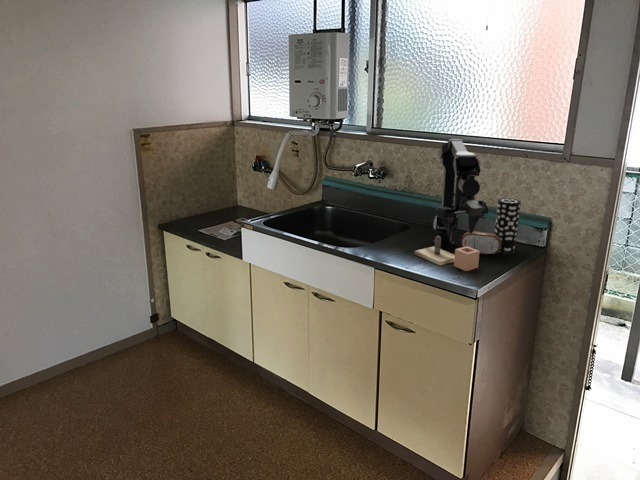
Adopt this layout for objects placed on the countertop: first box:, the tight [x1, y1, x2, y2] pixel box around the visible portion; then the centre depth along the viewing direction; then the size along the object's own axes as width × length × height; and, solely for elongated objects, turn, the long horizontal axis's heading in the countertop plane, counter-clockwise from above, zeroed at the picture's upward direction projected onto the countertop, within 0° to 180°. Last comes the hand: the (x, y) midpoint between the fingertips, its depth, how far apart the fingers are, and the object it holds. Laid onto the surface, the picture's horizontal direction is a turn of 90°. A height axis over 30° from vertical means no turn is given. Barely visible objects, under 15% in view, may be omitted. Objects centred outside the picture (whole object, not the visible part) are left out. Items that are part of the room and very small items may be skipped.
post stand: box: [414, 236, 455, 266], centre depth 197 cm, size 10×14×9 cm
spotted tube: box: [493, 197, 522, 253], centre depth 204 cm, size 8×8×20 cm
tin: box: [460, 230, 501, 255], centre depth 202 cm, size 15×3×8 cm, turn 70°
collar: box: [453, 246, 480, 272], centre depth 188 cm, size 6×6×6 cm
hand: (460, 234), depth 185 cm, fingers open, 9 cm apart
